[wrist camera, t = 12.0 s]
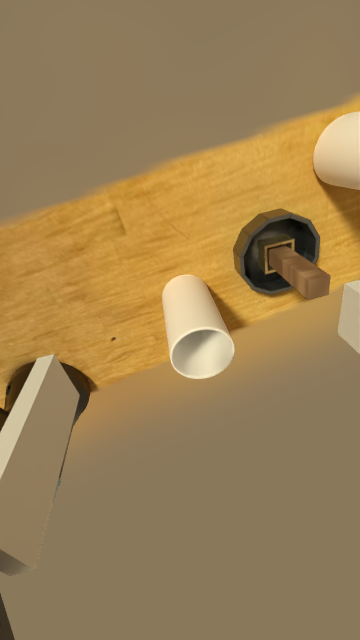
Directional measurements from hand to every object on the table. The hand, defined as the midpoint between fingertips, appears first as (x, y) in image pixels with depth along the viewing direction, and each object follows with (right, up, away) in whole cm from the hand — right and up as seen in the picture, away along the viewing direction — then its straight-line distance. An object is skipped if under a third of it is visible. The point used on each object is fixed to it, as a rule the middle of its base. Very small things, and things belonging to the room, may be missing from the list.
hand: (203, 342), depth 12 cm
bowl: (+14, +13, +32) cm, 37 cm away
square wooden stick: (+14, +12, +31) cm, 37 cm away
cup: (0, +5, +35) cm, 35 cm away
